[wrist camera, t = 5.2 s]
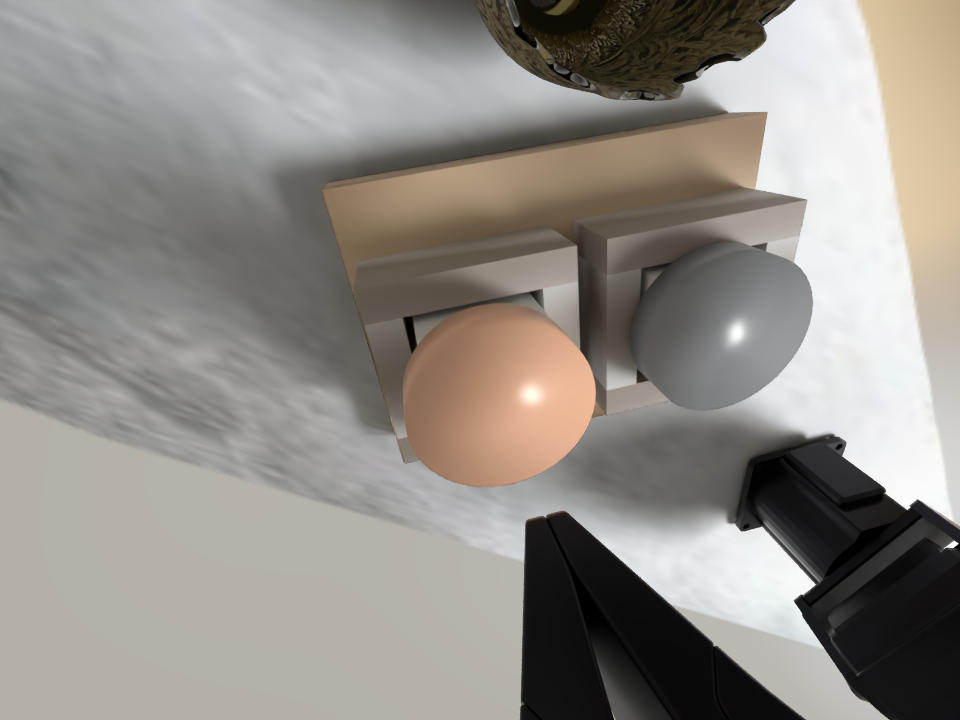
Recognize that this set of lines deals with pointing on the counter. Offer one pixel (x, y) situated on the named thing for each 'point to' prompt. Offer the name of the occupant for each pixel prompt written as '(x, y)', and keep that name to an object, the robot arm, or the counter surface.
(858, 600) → the robot arm
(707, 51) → the cup
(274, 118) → the counter surface
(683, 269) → the plunger grey
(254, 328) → the counter surface
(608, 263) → the button board
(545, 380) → the plunger terracotta
